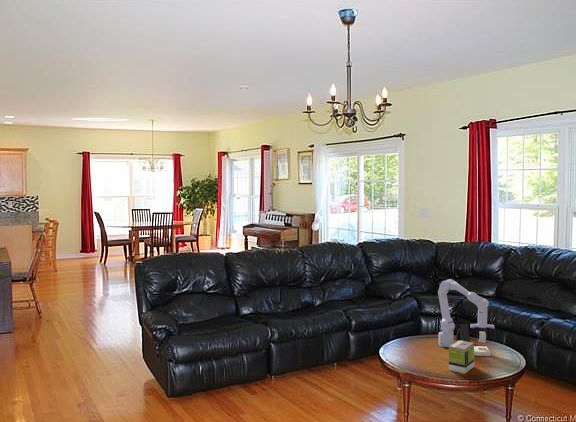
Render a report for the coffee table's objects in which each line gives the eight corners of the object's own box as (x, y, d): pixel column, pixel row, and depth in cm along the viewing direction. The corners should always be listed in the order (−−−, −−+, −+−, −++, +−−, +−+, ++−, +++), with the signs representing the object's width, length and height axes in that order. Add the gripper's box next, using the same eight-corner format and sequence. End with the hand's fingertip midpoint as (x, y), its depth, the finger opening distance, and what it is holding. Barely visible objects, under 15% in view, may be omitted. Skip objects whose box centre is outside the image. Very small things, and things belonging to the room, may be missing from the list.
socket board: (464, 355, 339) (464, 351, 339) (460, 349, 350) (461, 345, 350) (490, 356, 337) (490, 352, 337) (486, 350, 348) (486, 346, 348)
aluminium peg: (479, 342, 342) (479, 333, 342) (477, 340, 346) (477, 331, 346) (485, 342, 342) (486, 333, 342) (484, 340, 346) (484, 331, 346)
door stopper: (470, 343, 364) (470, 325, 363) (462, 343, 363) (462, 326, 362) (462, 339, 373) (463, 322, 372) (455, 340, 371) (455, 322, 370)
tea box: (458, 363, 324) (458, 339, 323) (474, 367, 318) (475, 342, 317) (448, 370, 313) (448, 345, 312) (464, 374, 306) (465, 348, 305)
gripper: (472, 319, 340) (471, 340, 341) (495, 320, 338) (495, 341, 339) (469, 316, 347) (469, 337, 348) (492, 317, 345) (492, 337, 346)
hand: (481, 338), depth 344 cm, fingers closed on aluminium peg, 4 cm apart
